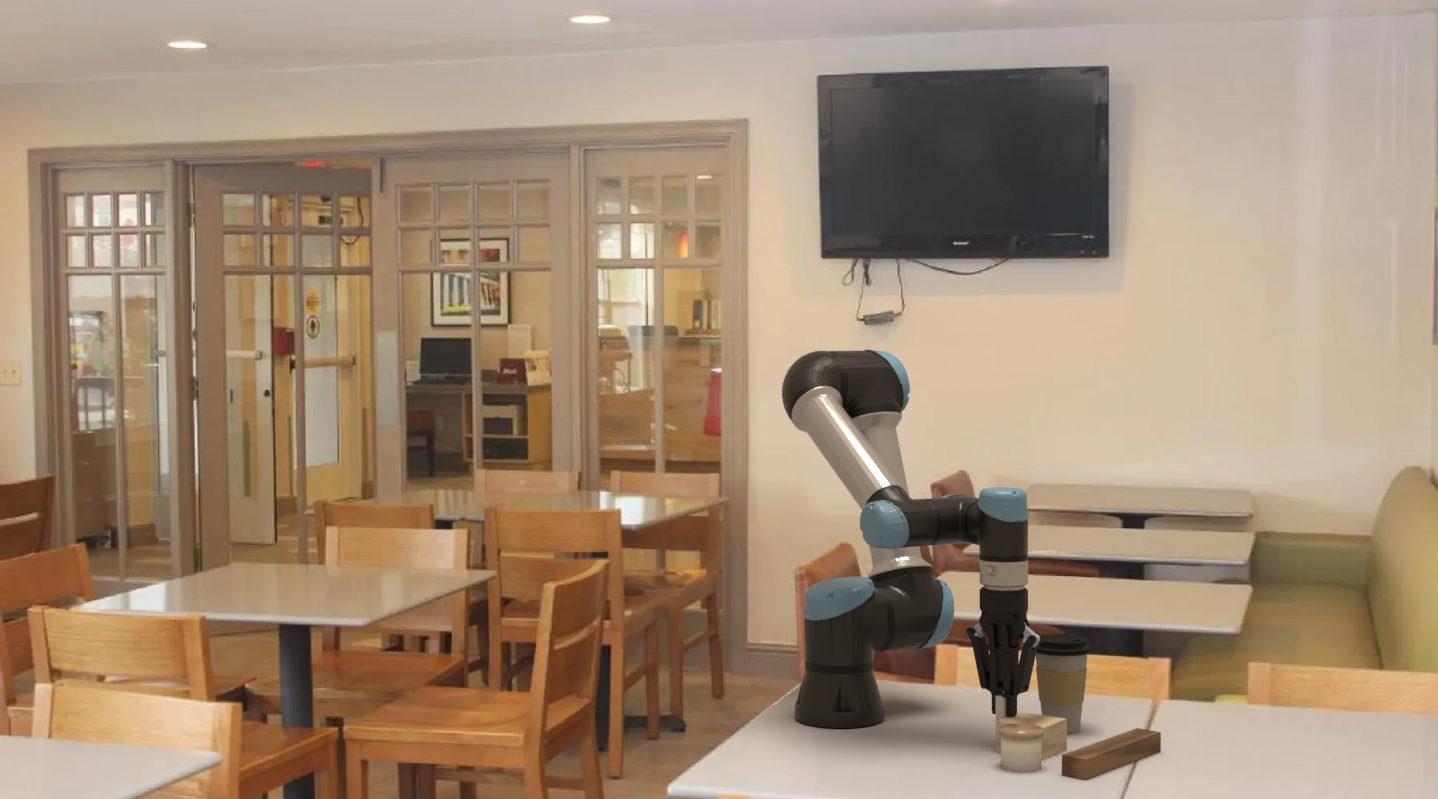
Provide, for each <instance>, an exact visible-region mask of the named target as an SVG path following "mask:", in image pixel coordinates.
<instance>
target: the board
mask: <svg viewBox="0 0 1438 799" xmlns="http://www.w3.org/2000/svg"><path fill="white" fill-rule="evenodd" d="M1161 736H1162V733H1161V731H1157V730H1156V731H1155V730H1149V729H1146V728H1145V729H1144V728H1138V727H1137V728H1133V729H1131V730H1127V731H1125V732H1123V733H1119V734H1117V735H1114V736H1111V737H1108V738H1105V739H1103V740H1099V741H1096V742H1093V743H1092V744H1088V745H1086V746H1083V747H1080V748H1077V749H1074V750H1071V751H1069V752H1064V753H1063V754H1061V776H1065V777H1070V778H1074V779H1078V780H1084V781H1086V780H1089V779H1092V778H1094V777H1097V776H1100V775H1103V774H1105V773H1107V772H1110V771H1112V770H1115V769H1118V768H1121V767H1124V766H1126V765H1129V764H1131V763H1134V762H1136V761H1140V760H1142V759H1144V758H1147V757H1150V756H1153V755H1155V754H1158V753H1161V752H1162V747H1161V746H1162V743H1161V741H1162V740H1161V739H1162V737H1161Z"/></svg>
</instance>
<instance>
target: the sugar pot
mask: <svg viewBox="0 0 1438 799" xmlns="http://www.w3.org/2000/svg"><path fill="white" fill-rule="evenodd" d="M999 735H1001V753H1000V768H1001V769H1002V770H1005V771H1008V772H1013V773H1034V772H1038V771H1040V770H1042V760H1041V737H1042V736H1043V735H1044V730H1043V728H1042V727H1040V726H1036V725H1031V724H1020V723H1016V724H1005V725H1002V726H1000V727H999Z"/></svg>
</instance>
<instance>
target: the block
mask: <svg viewBox="0 0 1438 799" xmlns="http://www.w3.org/2000/svg"><path fill="white" fill-rule="evenodd" d="M1016 723H1020V724H1031V725H1036V726H1040V727H1042V728H1043V730H1044V735H1043V736H1042V737H1041V761H1045V760H1047V759H1050V758H1051V757H1054V756H1056V755H1059V754H1060V753H1063V752H1066V751H1067V750H1068V734H1067V719H1065V718H1058V717H1052V716H1045V715H1042V714H1038V713H1031V712H1026V711H1025V712H1024V711H1019V712H1017V714H1016V716H1013V717H1006V718H1003V719H1000V720H998V721H996V720H995V753H997V754H1001V735H999V727H1000V726H1002V725H1005V724H1016Z"/></svg>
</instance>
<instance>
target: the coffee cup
mask: <svg viewBox="0 0 1438 799" xmlns="http://www.w3.org/2000/svg"><path fill="white" fill-rule="evenodd" d="M1041 635H1042V637H1043V639H1042V641H1041V643H1040V644H1039V646H1038V648H1037V651H1036V656H1035V661H1036V666H1035V671H1036V678H1037V679H1036V681H1037V690H1038V701H1039V702H1040V709H1041V710H1040V711H1041V715H1045V716H1052V717H1058V718H1065V719H1067V735H1071V734H1076V733H1079V731H1080V729H1081V723H1082V710H1083V703H1084V701H1085V693H1086V692H1085V691H1086V682H1087V672H1088V670H1087V669H1088V668H1087V664H1088V663H1087V662H1088V654H1090V653H1091V650H1090V649H1091V648H1090V645H1089V644H1087V640H1086V638H1085V637H1083V636H1078V635H1074V634H1073V635H1072V634H1065V633H1064V634H1062V633H1061V634H1059V633H1056V634H1052V633H1050V634H1041Z"/></svg>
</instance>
